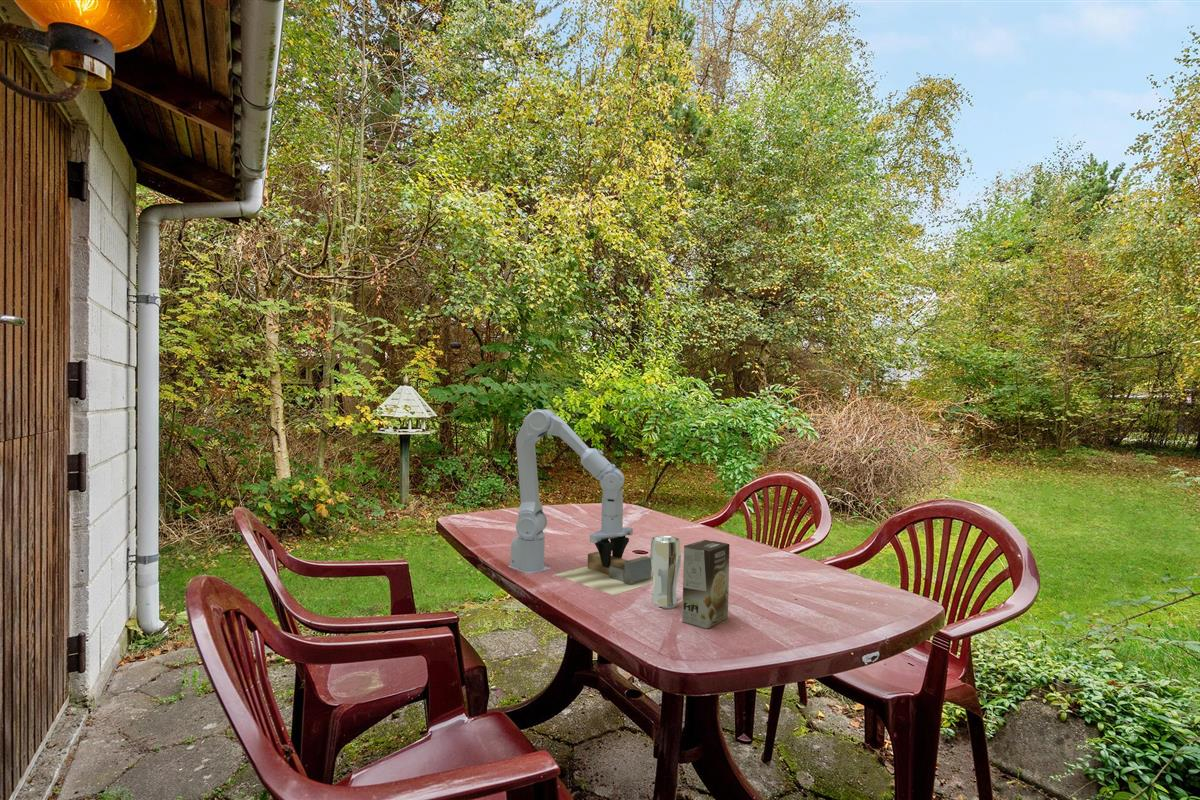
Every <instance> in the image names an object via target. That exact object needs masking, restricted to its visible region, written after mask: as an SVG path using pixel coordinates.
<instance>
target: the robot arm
mask: <svg viewBox="0 0 1200 800" xmlns="http://www.w3.org/2000/svg"><path fill="white" fill-rule="evenodd" d="M546 434H547V435H551V436H555V437H559V438H560V439H561V440H562V441H564V443H565V444H567V446H569V447H570V448H571V449H572V450H573V451H574V452H575V453H576V454H577V455H578V456H579V457H580V464H581V465H582V466H583V467H584V468H585V469H586V470H587V471H588V473H589V474H591V476H593V477H594V479H596V481H599V484H600V487H601V489H602V497H601V515H600V516H601V523H600V524H601V526H600V530H599V531H596V532H593V533H591V534H589V543H590V542H591V543H594V545H595V547H596V549H597V552H599V554H600V558H601V562H602V566H603V567H606V568H609V566H610V560H611V556H614V557H618V558H622V559H623V555H624V553H625V552H624V551H625V549H626V547H627V545H628V544H629V542H630V538H629V537H627V536H633V533H634V532H633V527H630V526H624V527H623V523H624V522H623V521H624V520H623V519H624V497H623V495H624V490H623V486H624V484H625V475H624V473H623V472H622V470H621V469H619V468H618V467H617V468H616V465H615V464H614V463H611V462H610V461H609V460H608V459H607V458H606V457H605V456H604V455H603V454H604V452H603V451H602V450H601V449H599V450H598V449H597V448H590V447H589V446H588V445H587V444H586V443H585V442H584V441H583V440H582V439H581V438H580V437H579V436H578V434H577V433H576V432H575V431H574V430H573V429H572V428H571V427H570V426H569V425H568V424H567V422H565V421H564V419H563V418H562V417H560V416H559V415H557V414H556V413H555V412H554V411H553V410H551V409H548V408H545V409H540V408H539V409H534V410H532V411H531V412H530V413H528V414H527V415H526V416H525V417H524V418H523V423H522V425H521V427H520V429H519V431H518V433H517V435H516V438H515V444H516V445H515V446H516V457H517V458H516V459H517V468H518V469H517V470H518V472H517V473H518V483H519V485H518V486H519V494H520V495H519V496H520V505H519V508H518V513H517V514H518V518H517V519H518V520H517V521H516V525H515V529H516V533H517V535H516V536H514V537H513V538H512V541H511V543H510V565H508V566H507V567H509V568H512V569H513V570H517V571H519V572H521V573H525V574H534V573H538V572H541V571H547V570H549V569H552V568H551V567H549V566H547V565H545V544H546V541H545V540H546V537H545V536H546V535H545V533H544V530H545V528H546V527H547V524H548V519H547V516H546V514H545V512H544V510H543V504H542V502H541V501H540V500H541V499H540V488H539V487H540V486H539V477H538V464H537V453H536V443H538V442H539V440H540V439H542V437H543V436H545V435H546Z"/></svg>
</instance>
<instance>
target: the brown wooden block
mask: <svg viewBox="0 0 1200 800" xmlns="http://www.w3.org/2000/svg"><path fill="white" fill-rule="evenodd" d="M629 560H630V559H625V558H623V557H622V558H618V557H614V556H612V555H611V560H610V566H611V565H612V566H615V567H619V568H622V569H624V567H625V561H629ZM587 566H588V569H591V570H594V571H598V572H601V573H604V574H607V575H609V568H606V567H603V566H602V562H601V558H600V554H599V551H595V552H594V551H593V552H590V553H587Z"/></svg>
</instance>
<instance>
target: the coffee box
mask: <svg viewBox="0 0 1200 800" xmlns="http://www.w3.org/2000/svg"><path fill="white" fill-rule="evenodd" d="M730 546H731V545H730V543H727V542H722V541H715V540H709V539H704V540H703V539H702V540H700V541H696V542H693V543H690V544H686V545H684V546H683V570H682V571H683V575H682V577H683V578H682V579H683V580H682V610H681V611H682V615H681V616H682V617H681V618H682V619H681V620H682V623H687V624H689V625H693V626H697V627H699V628H703V629H709V628H711V627H713V626H715V625H717V624H718V623H721V622H722V621H725V620H726V619H728V618H729V589H730V588H729V587H730V584H729V582H730V581H729V579H730Z"/></svg>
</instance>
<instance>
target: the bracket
mask: <svg viewBox="0 0 1200 800" xmlns="http://www.w3.org/2000/svg"><path fill="white" fill-rule="evenodd" d="M628 560H629V561H625V567H624V569H622V568H619V567H615V566H612V565H611V566H609V578H612V579H615V580H619V581H622V582H624V583H625V584H628V585H633V584H636V583H639V582H642V581H646V580H649V579H651V577H652V572H651V563H650V556H646V555H645V556H641V557H638V558H634V559H628Z"/></svg>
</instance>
